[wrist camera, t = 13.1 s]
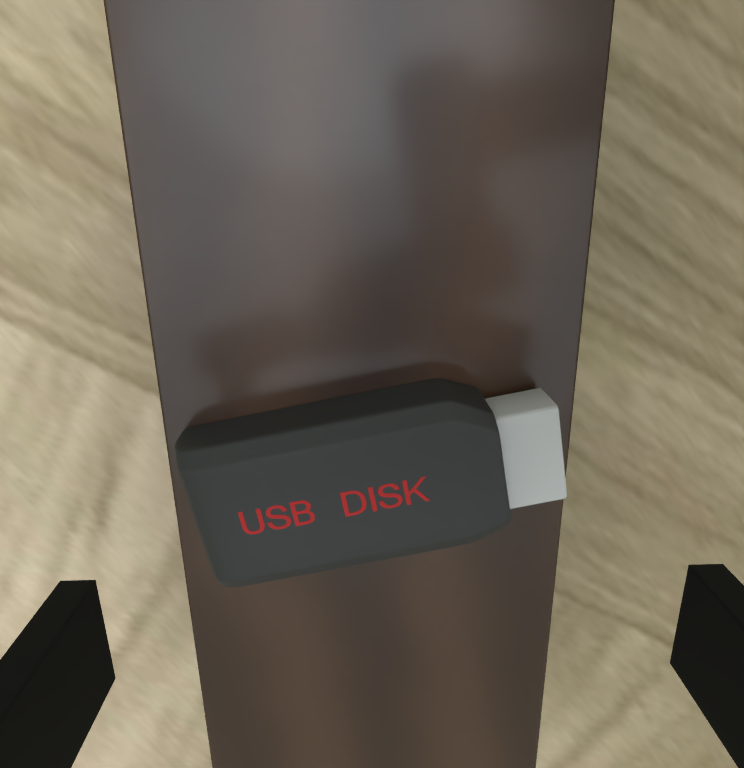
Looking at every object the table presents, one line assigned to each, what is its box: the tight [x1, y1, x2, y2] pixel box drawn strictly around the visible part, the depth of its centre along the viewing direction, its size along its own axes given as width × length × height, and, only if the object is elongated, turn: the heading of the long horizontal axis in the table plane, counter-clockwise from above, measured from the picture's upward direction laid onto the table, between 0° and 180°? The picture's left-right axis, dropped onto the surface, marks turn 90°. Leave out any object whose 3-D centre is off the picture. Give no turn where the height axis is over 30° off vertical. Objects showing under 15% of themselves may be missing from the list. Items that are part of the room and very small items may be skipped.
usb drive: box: [174, 378, 567, 587], centre depth 19 cm, size 5×12×3 cm, turn 101°
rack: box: [104, 0, 615, 768], centre depth 24 cm, size 14×30×8 cm, turn 1°
